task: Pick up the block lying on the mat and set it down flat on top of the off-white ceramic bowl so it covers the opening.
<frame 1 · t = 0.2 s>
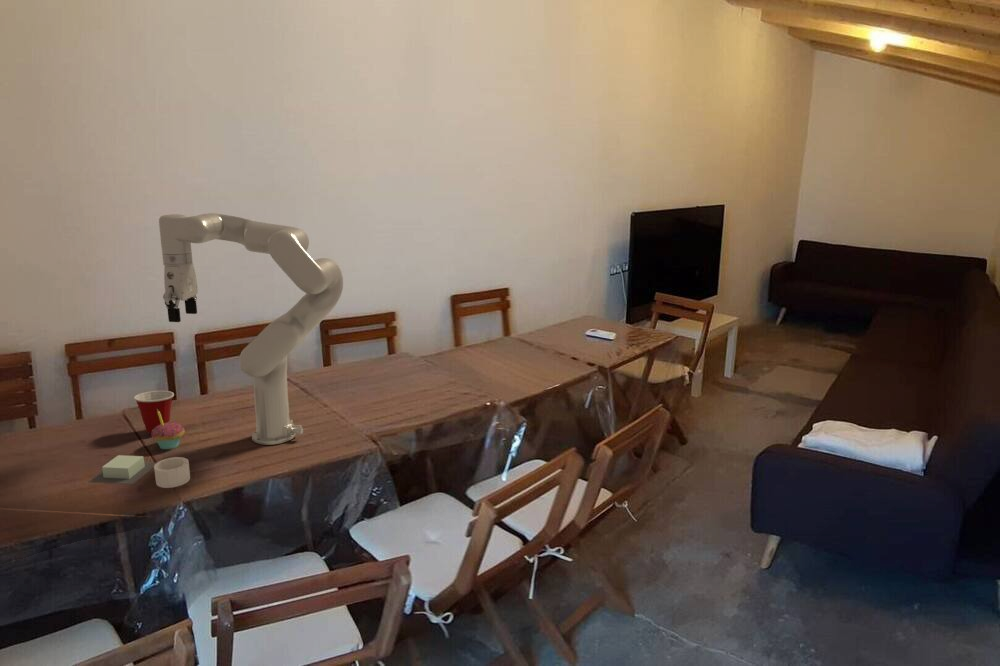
hand: (183, 317, 193), 36 cm above the table, tool pointing down, fingers open, 9 cm apart
plastic cup: (158, 431, 203), on the table
cupcake: (169, 447, 193), on the table
mat: (124, 473, 177), on the table
block: (124, 471, 177), resting on mat
bowl: (173, 481, 174), on the table
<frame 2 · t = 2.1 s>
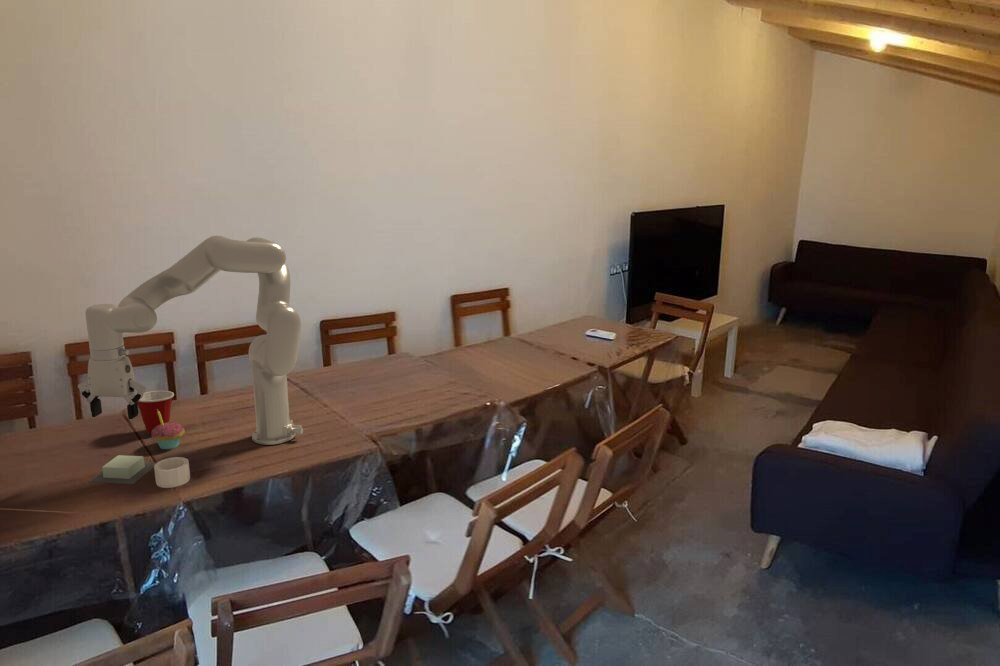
hand: (115, 416, 173), 16 cm above the table, tool pointing down, fingers open, 9 cm apart
nothing on the table moved.
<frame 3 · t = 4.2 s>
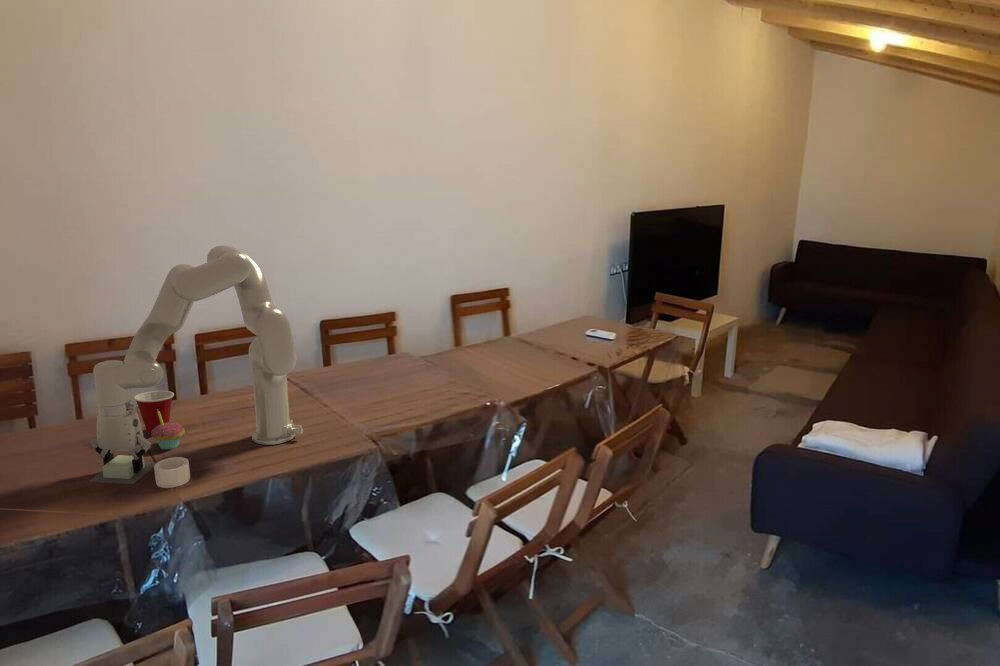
hand: (124, 469, 177), 1 cm above the table, tool pointing down, fingers closed on block, 7 cm apart
block: (124, 471, 177), resting on mat, touching gripper
everything else where it was.
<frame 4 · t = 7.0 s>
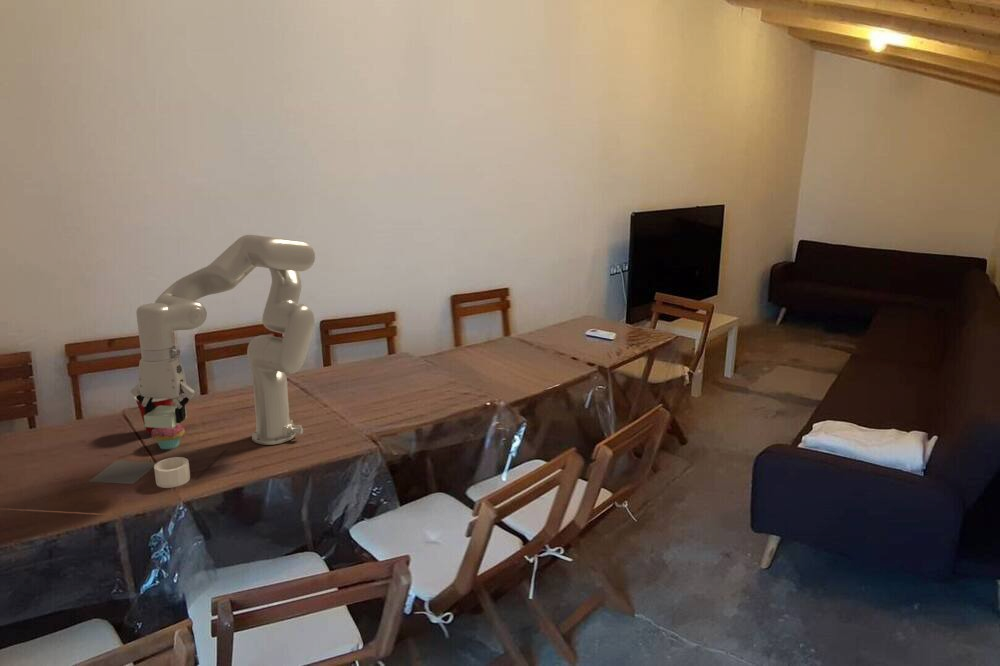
hand: (166, 419, 169), 17 cm above the table, tool pointing down, fingers closed on block, 7 cm apart
block: (166, 422, 169), point 17 cm above the table, touching gripper
everything else where it was.
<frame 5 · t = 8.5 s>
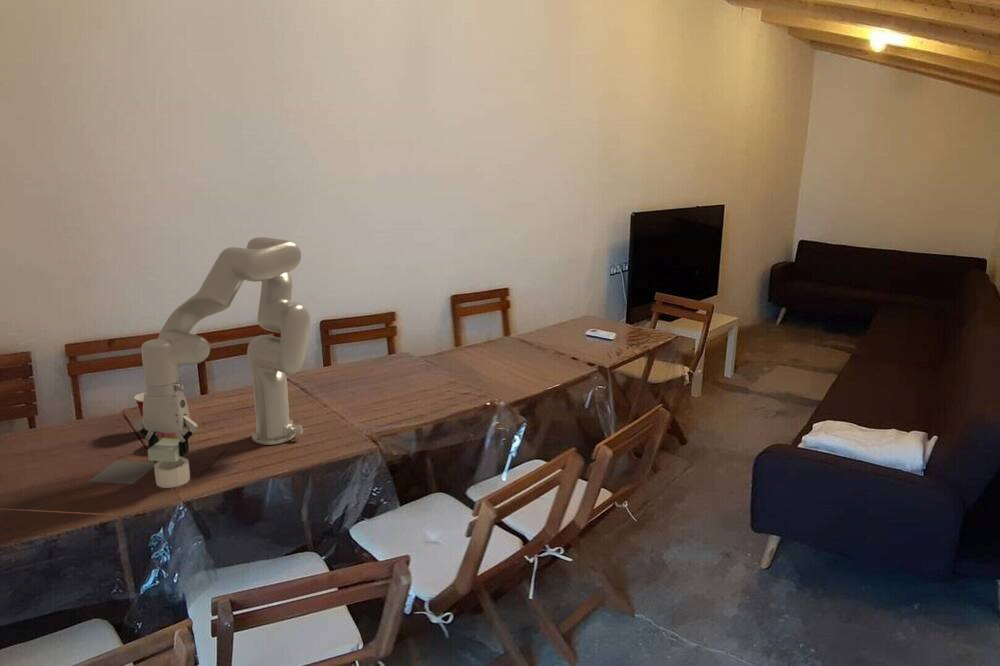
hand: (169, 452, 171), 8 cm above the table, tool pointing down, fingers closed on block, 7 cm apart
block: (169, 455, 171), point 8 cm above the table, touching gripper
everything else where it was.
when the fingers open (7 cm above the table, at t = 9.7 s): block drops 1 cm, resting on bowl.
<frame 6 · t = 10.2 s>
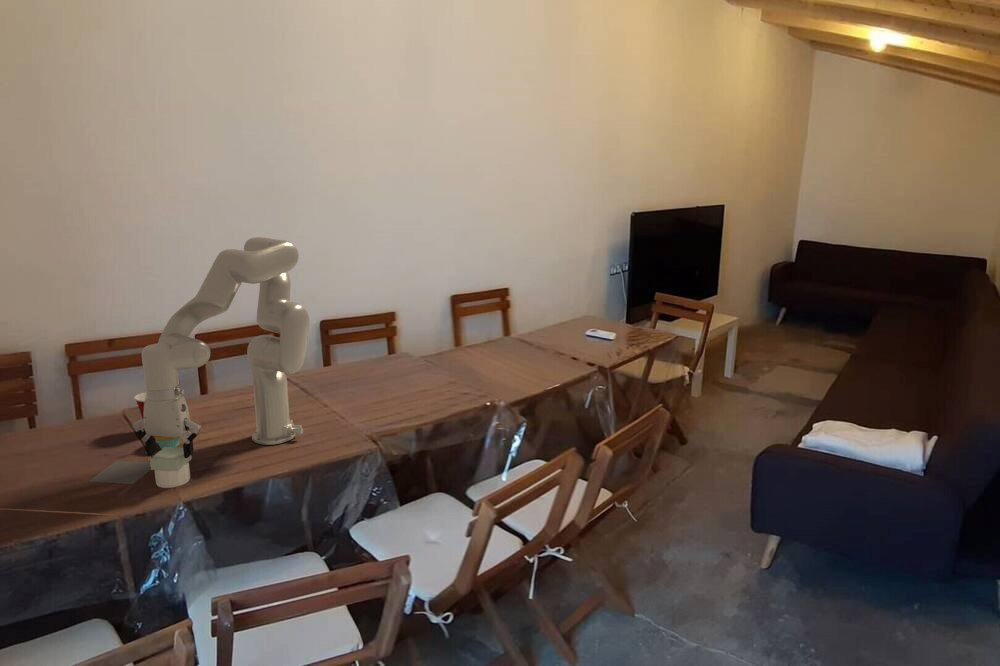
hand: (170, 454, 172), 8 cm above the table, tool pointing down, fingers open, 9 cm apart
block: (171, 464, 172), point 5 cm above the table, touching bowl
everything else where it was.
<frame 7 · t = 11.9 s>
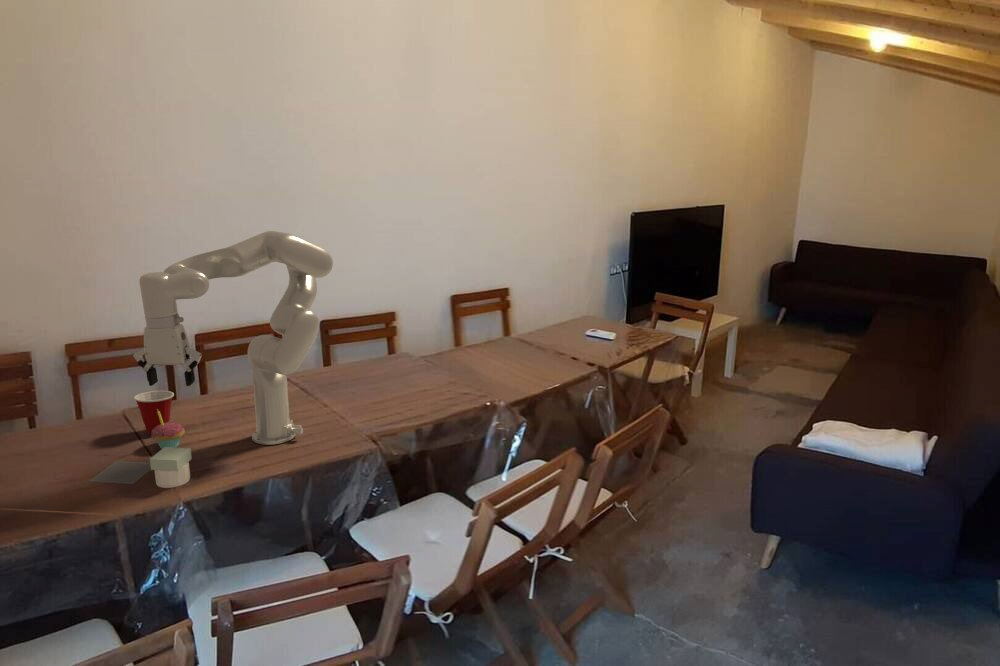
hand: (172, 384, 174), 24 cm above the table, tool pointing down, fingers open, 9 cm apart
nothing on the table moved.
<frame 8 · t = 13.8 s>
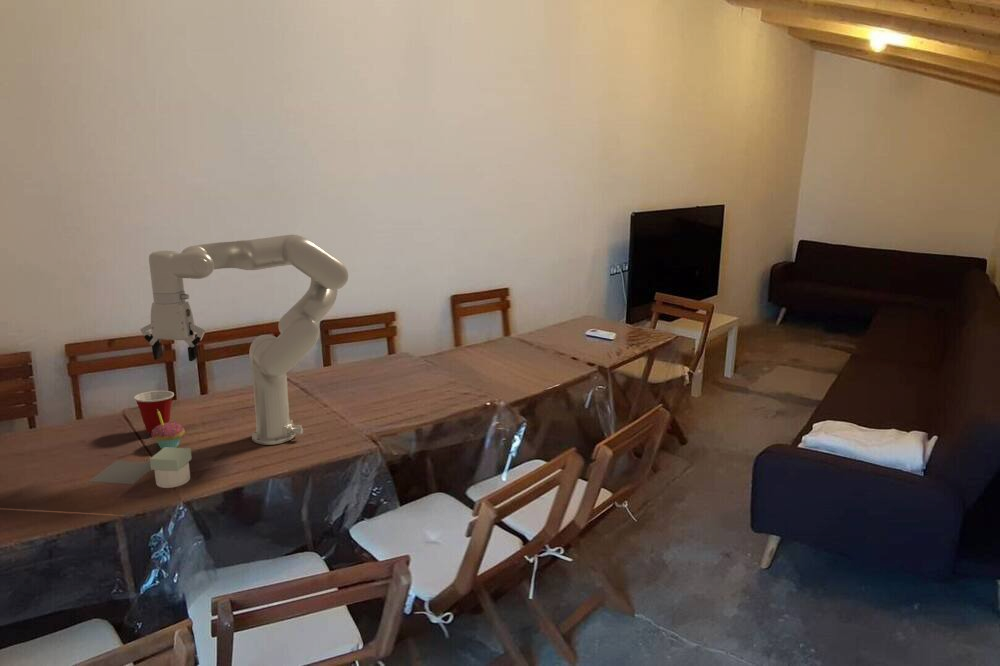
hand: (175, 358, 182), 28 cm above the table, tool pointing down, fingers open, 9 cm apart
nothing on the table moved.
at the end: block 0.1 cm off-centre on the bowl, point 5.0 cm above the bowl's base; block tilted 0°; the gripper is holding nothing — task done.
